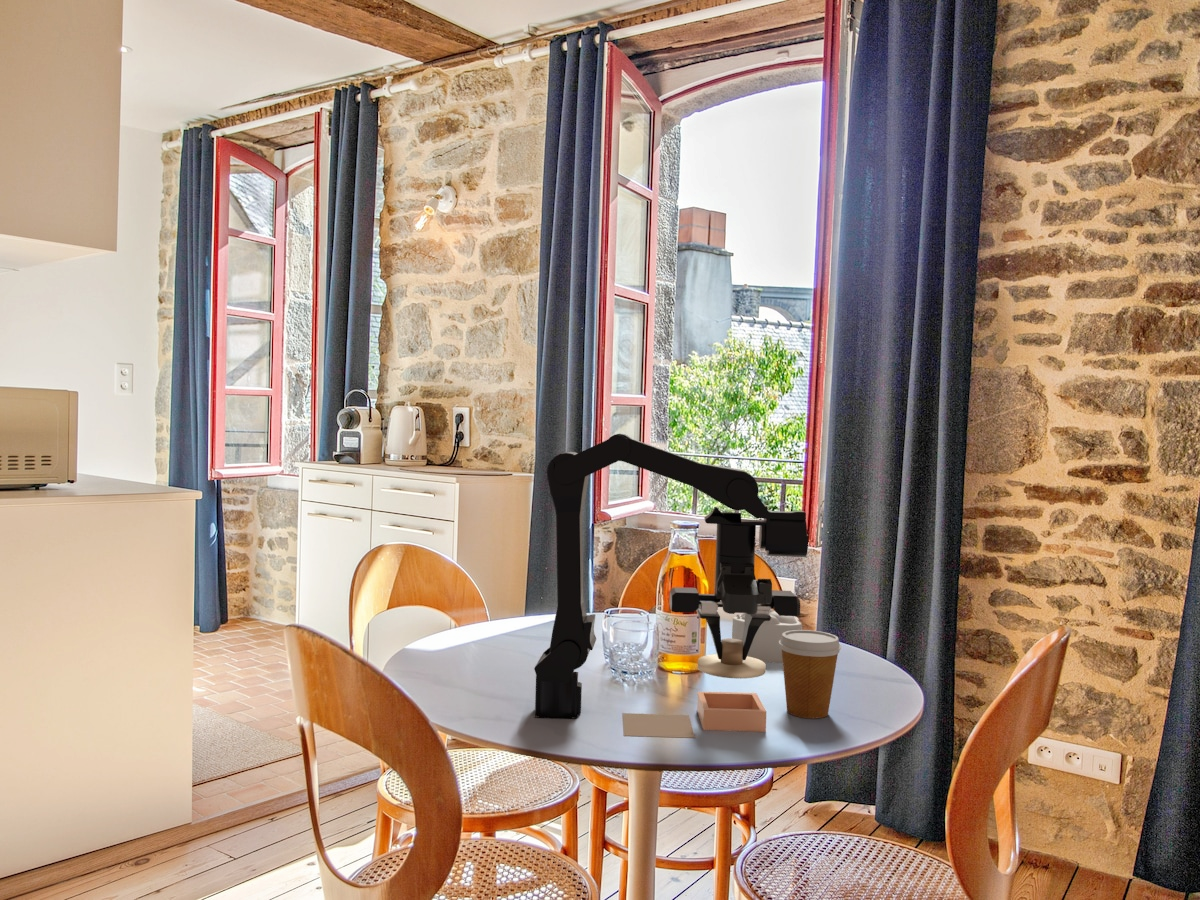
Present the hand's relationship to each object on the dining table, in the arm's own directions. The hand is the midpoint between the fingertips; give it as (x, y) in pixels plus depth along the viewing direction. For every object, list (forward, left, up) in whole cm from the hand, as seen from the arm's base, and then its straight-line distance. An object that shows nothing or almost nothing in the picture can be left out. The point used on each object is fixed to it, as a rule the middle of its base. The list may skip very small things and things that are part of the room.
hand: (731, 659), depth 137 cm
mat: (-11, -3, -10) cm, 15 cm away
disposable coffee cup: (+13, +7, -10) cm, 18 cm away
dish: (0, 0, -10) cm, 10 cm away
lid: (0, 0, -2) cm, 2 cm away
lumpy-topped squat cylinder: (+13, +42, -10) cm, 45 cm away
